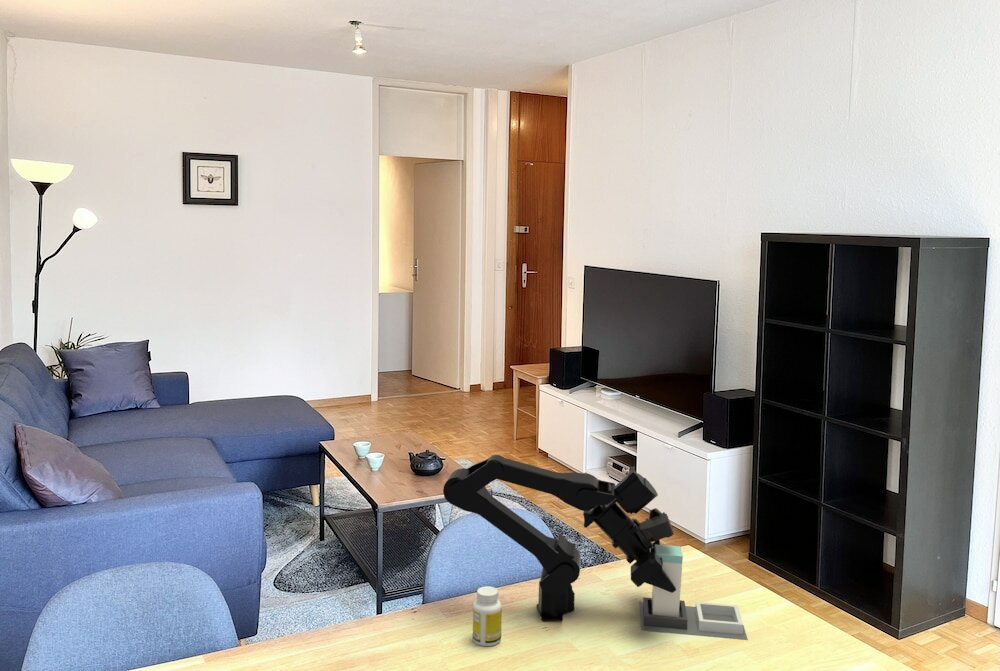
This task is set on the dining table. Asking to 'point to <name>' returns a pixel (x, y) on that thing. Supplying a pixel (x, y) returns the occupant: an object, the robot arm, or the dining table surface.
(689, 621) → the board
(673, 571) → the plug
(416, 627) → the dining table surface
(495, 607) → the supplement bottle
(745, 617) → the dining table surface
